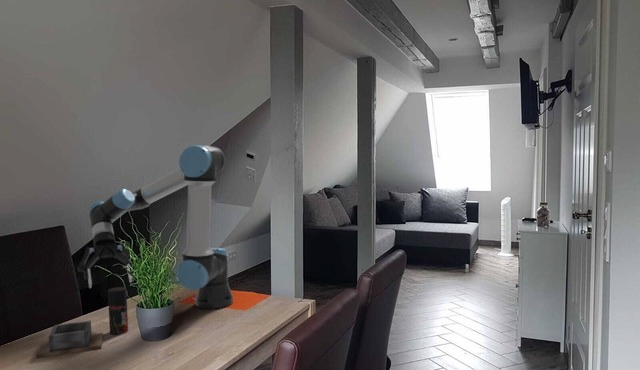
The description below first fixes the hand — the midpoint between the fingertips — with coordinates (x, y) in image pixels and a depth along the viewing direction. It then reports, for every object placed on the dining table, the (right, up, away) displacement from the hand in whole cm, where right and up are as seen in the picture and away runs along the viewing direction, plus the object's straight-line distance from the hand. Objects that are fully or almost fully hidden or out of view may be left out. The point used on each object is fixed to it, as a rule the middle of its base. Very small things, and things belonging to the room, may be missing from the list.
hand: (111, 283), depth 176 cm
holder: (-4, -16, -19) cm, 26 cm away
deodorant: (+6, -16, -7) cm, 18 cm away
